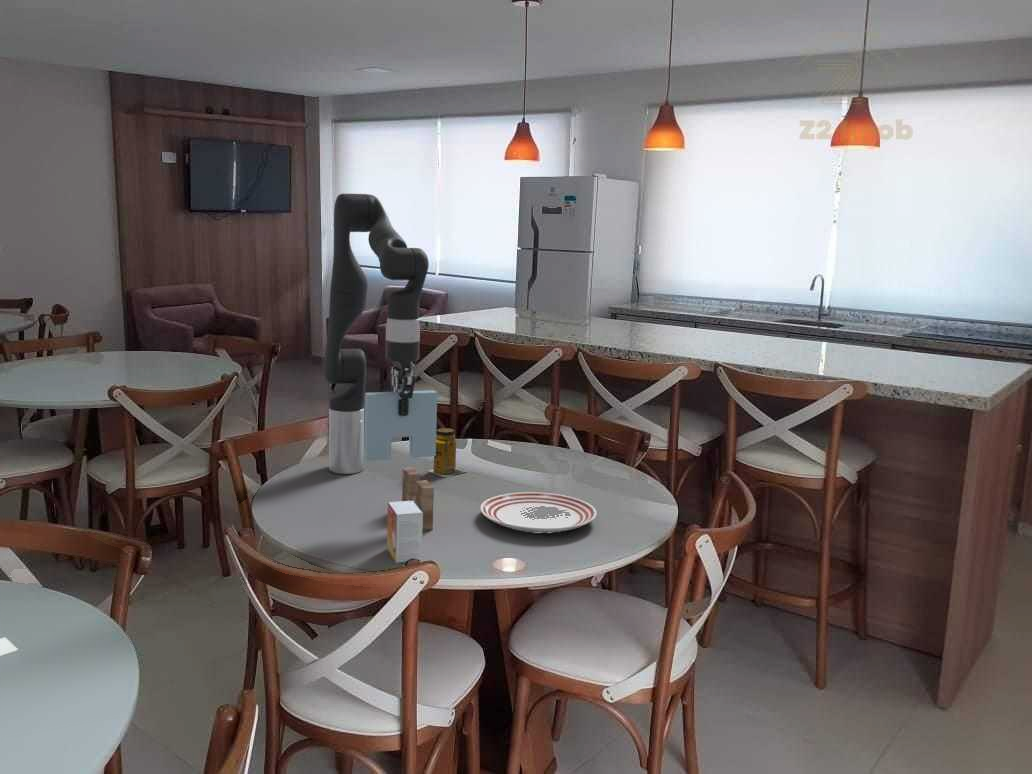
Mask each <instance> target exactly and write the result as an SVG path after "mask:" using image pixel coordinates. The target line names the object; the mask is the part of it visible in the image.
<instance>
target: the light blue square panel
mask: <svg viewBox="0 0 1032 774" xmlns="http://www.w3.org/2000/svg"><path fill="white" fill-rule="evenodd" d="M404 393H407V391H405V392H404ZM398 400H399V399H398V392H392V391H381V392H379V391H378V392H365V398H364V459H365V460H366V461H367V462H369V461H382V460H392V438H394V439H395V438H407V437H408V438H409V456H411V457H410V458H413V459H414V458H428V457H434V456H436V430H437V418H438V417H437V415H438V413H437V412H438V391H436V390H434V389H431V390H413V395H412V398H410V399H408V400H409V409H408V415H407V416H399V415H398Z"/></svg>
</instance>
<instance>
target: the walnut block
mask: <svg viewBox="0 0 1032 774" xmlns="http://www.w3.org/2000/svg"><path fill="white" fill-rule="evenodd" d="M420 478H421V477H420V473H419V471H417V469H415V468H414V466H410V467H402V483H401V485H402V486H401V489H402V490H401V494H402V495H401V501H414V503H415V504H416V505H417V507H418V508H419V509H420V510H421V511H422V513H423V527H422V532H423V531H433V529H434V528H433V527H434V526H433V525H434V499H435V498H434V496H435V494H434V493H435V487H434V486H433V484H431V483H430V482H429V480H427V479H425V480H421V479H420Z"/></svg>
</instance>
